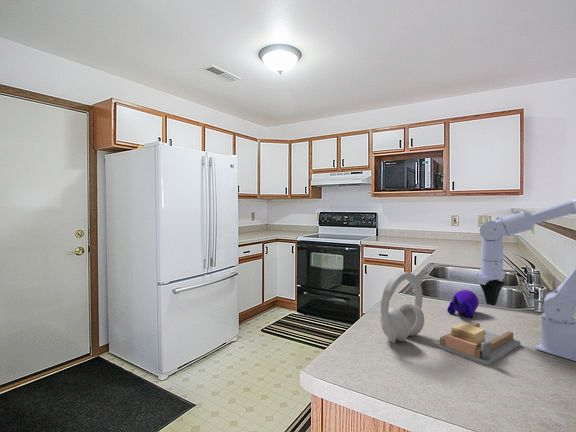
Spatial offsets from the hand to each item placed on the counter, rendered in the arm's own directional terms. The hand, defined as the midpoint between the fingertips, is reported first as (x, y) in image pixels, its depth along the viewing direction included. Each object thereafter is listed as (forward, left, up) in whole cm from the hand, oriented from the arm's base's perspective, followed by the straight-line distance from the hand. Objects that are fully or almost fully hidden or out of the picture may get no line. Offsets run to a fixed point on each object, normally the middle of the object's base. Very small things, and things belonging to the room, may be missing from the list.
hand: (491, 304), depth 97 cm
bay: (-1, +10, -10) cm, 14 cm away
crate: (-1, +15, -9) cm, 18 cm away
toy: (+15, -14, -10) cm, 23 cm away
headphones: (+15, +23, -10) cm, 29 cm away
